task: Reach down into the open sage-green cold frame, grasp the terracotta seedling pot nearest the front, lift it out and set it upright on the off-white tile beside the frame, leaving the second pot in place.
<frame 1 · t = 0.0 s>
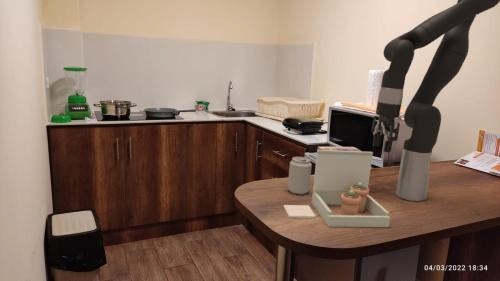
hand: (381, 148, 126), 17 cm above the counter, tool pointing down, fingers open, 8 cm apart
can: (298, 191, 129), on the counter
tile: (299, 212, 111), on the counter
clay pot: (348, 218, 109), resting in cold frame
cold frame: (347, 214, 112), on the counter
tea box: (337, 188, 136), on the counter
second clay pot: (356, 209, 117), resting in cold frame
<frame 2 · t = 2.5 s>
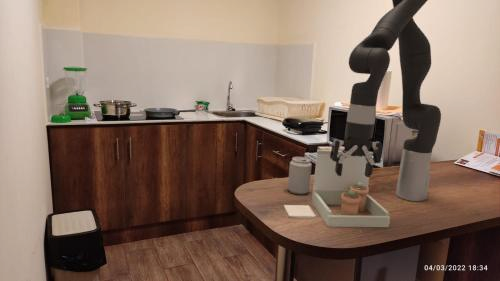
hand: (352, 175, 106), 13 cm above the counter, tool pointing down, fingers open, 8 cm apart
nothing on the counter moved.
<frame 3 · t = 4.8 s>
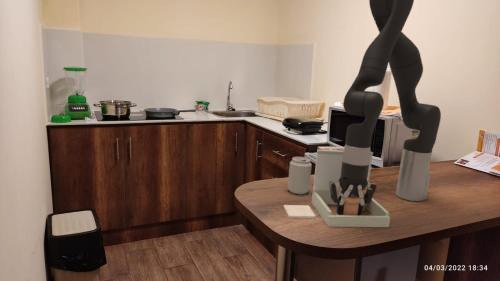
hand: (348, 215, 109), 1 cm above the counter, tool pointing down, fingers closed on clay pot, 4 cm apart
clay pot: (348, 218, 109), resting in cold frame, touching gripper
everything else where it was.
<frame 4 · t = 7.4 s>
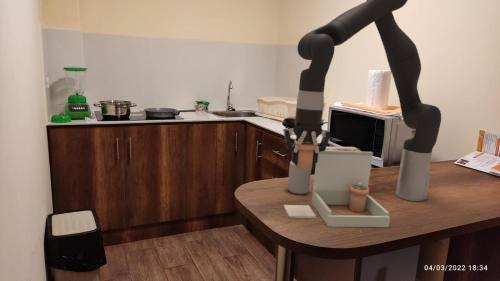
hand: (303, 164, 108), 15 cm above the counter, tool pointing down, fingers closed on clay pot, 4 cm apart
clay pot: (303, 167, 108), point 14 cm above the counter, touching gripper
everything else where it was.
when the fingers open (3 cm above the counter, at t = 10.1 s): clay pot drops 1 cm, resting on tile.
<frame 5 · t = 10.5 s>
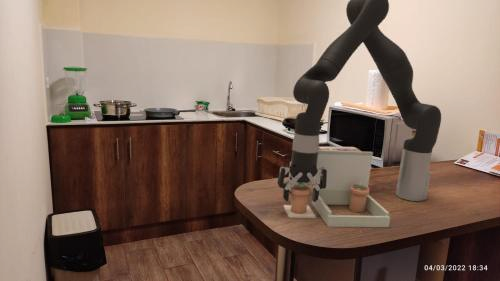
hand: (300, 200, 111), 4 cm above the counter, tool pointing down, fingers open, 8 cm apart
clay pot: (298, 210, 111), point 1 cm above the counter, touching tile
everything else where it was.
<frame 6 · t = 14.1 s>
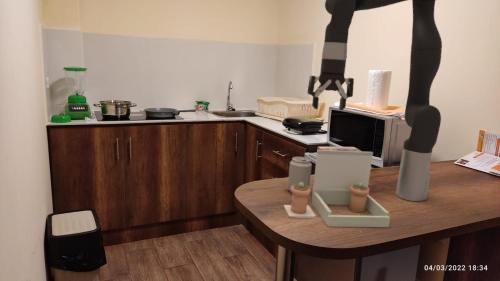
hand: (328, 109, 119), 30 cm above the counter, tool pointing down, fingers open, 8 cm apart
nothing on the counter moved.
at the end: clay pot inside the target area on the tile (0.3 cm from its centre), point 0.7 cm above the tile's base; clay pot tilted 1°; the gripper is holding nothing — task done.
